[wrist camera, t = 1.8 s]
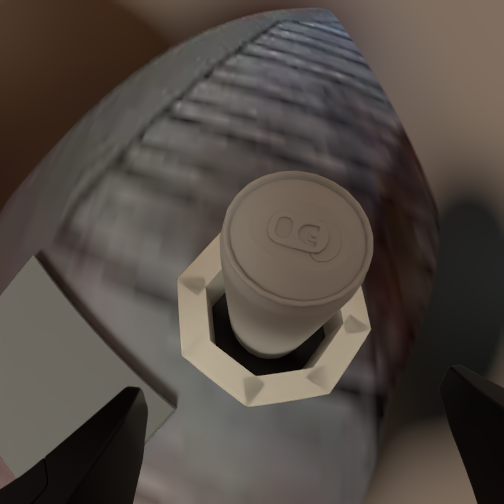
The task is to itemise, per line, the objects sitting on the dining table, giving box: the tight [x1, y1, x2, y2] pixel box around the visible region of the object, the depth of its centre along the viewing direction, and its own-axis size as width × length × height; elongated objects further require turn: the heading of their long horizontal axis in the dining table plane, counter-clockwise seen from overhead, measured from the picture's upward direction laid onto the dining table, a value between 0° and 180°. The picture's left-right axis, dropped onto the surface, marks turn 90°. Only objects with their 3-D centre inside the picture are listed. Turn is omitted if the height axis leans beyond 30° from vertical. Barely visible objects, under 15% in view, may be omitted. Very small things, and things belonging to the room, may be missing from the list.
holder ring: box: [177, 232, 371, 407], centre depth 18 cm, size 10×10×4 cm
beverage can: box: [220, 171, 373, 359], centre depth 15 cm, size 5×5×12 cm
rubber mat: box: [0, 255, 177, 478], centre depth 16 cm, size 16×14×1 cm
